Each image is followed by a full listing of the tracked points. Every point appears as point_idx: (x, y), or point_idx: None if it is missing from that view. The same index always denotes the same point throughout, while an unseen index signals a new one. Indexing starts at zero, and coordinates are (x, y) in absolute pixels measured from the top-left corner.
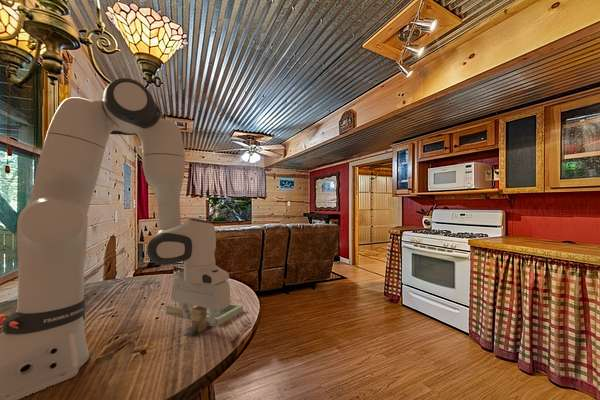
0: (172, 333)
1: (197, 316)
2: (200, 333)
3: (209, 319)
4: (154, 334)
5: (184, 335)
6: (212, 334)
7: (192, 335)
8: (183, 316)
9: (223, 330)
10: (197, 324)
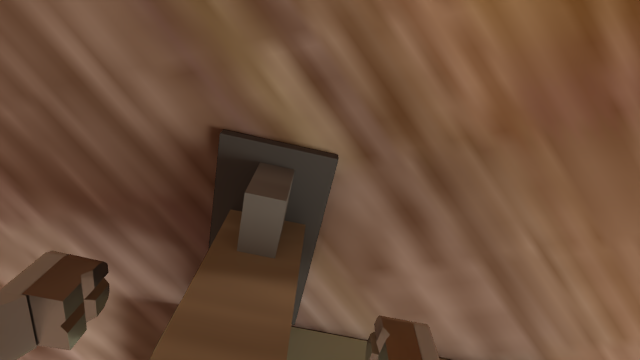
0: (452, 182)
1: (210, 311)
2: (214, 204)
3: (39, 279)
4: (604, 140)
5: (318, 155)
6: (140, 220)
7: (253, 166)
8: (425, 327)
9: (112, 277)
10: (233, 253)
